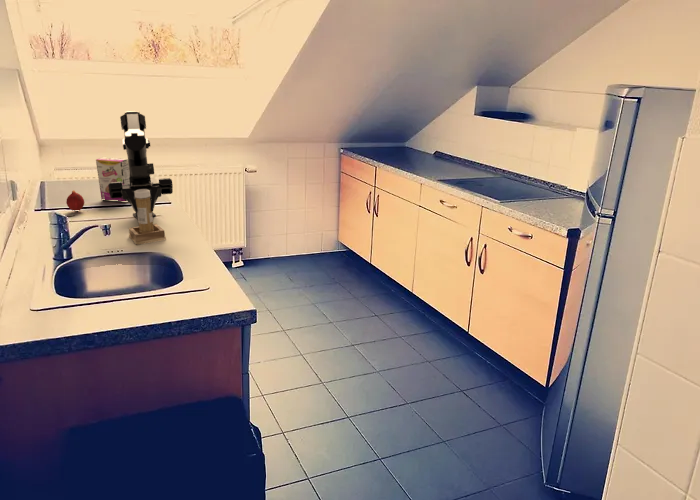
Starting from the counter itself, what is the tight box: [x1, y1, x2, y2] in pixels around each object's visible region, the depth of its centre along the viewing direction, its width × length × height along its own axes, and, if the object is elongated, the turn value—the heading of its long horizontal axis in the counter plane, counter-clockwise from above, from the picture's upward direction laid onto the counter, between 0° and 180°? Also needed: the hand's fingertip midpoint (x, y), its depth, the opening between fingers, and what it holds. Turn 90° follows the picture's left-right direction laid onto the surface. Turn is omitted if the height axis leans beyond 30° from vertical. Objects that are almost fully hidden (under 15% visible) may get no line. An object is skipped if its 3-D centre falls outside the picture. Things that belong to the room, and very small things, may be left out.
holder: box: [128, 223, 167, 246], centre depth 180 cm, size 9×9×3 cm
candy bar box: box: [95, 156, 130, 201], centre depth 218 cm, size 11×5×16 cm, turn 77°
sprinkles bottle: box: [134, 189, 154, 233], centre depth 177 cm, size 5×5×14 cm
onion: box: [65, 190, 85, 211], centre depth 205 cm, size 6×6×8 cm
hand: (144, 211), depth 176 cm, fingers closed on sprinkles bottle, 4 cm apart
